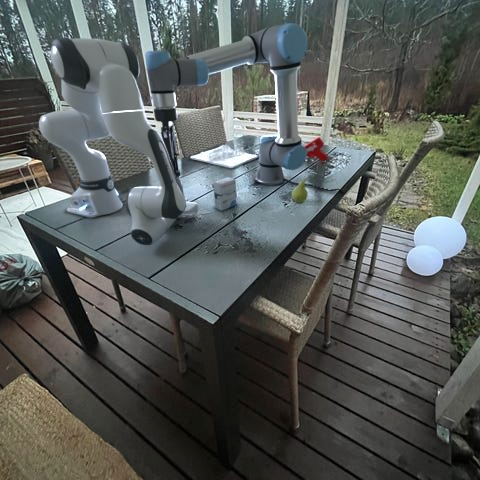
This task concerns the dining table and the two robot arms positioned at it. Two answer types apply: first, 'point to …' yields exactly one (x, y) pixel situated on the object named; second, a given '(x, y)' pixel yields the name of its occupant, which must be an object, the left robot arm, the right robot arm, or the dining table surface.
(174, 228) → the dining table surface
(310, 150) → the toy gun
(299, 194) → the fruit
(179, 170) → the cap
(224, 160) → the relief map
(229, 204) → the ink box
